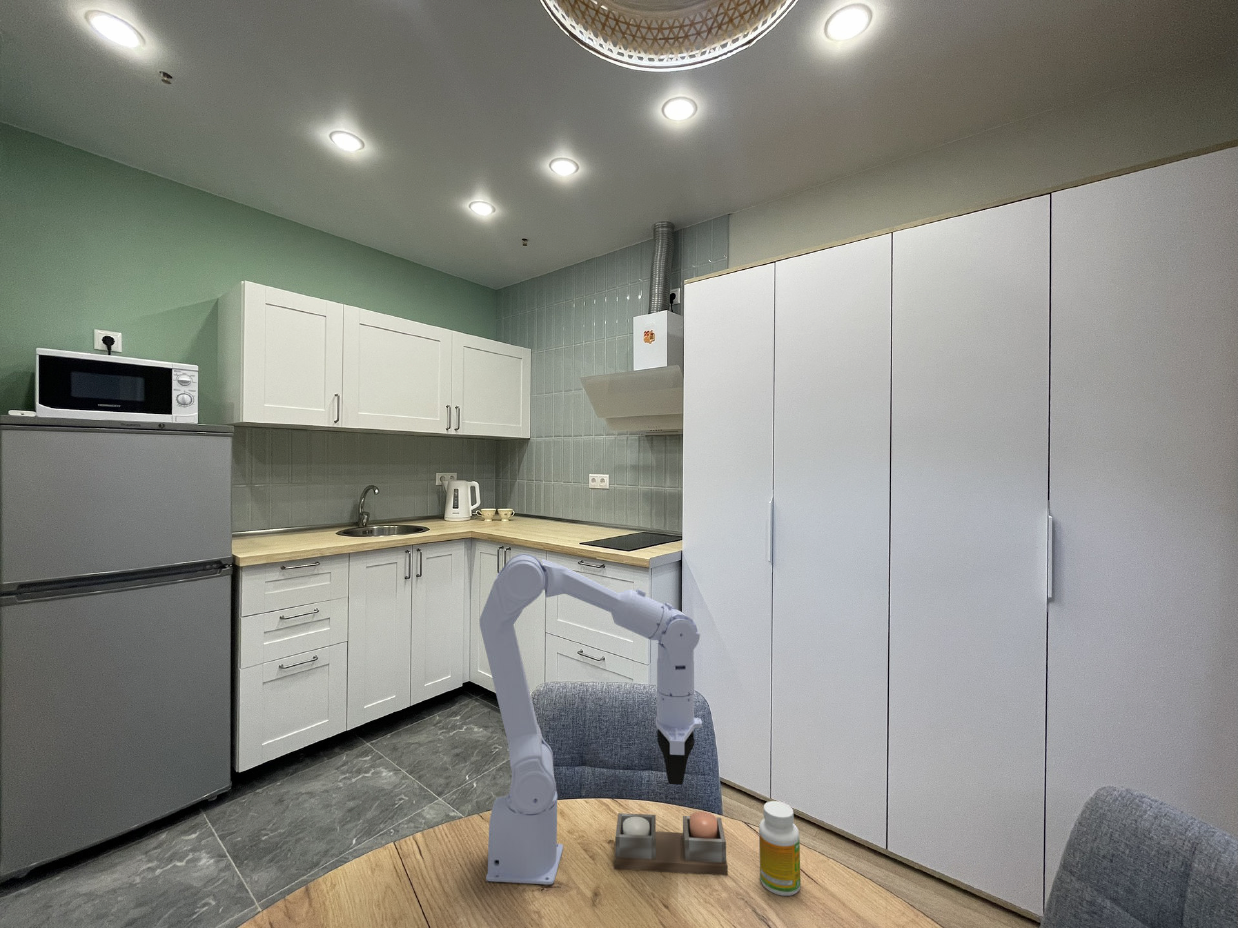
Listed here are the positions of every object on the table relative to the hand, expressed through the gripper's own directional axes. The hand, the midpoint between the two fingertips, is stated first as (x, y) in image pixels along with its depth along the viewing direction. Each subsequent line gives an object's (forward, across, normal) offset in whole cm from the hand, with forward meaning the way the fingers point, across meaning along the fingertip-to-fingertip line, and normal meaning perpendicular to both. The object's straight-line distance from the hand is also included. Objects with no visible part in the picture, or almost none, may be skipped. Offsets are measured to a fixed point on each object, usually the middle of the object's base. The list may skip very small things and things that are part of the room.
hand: (675, 782), depth 79 cm
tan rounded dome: (+7, -2, -4) cm, 8 cm away
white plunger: (+8, -2, +6) cm, 10 cm away
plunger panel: (+10, -2, +1) cm, 10 cm away
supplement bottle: (+10, -6, -14) cm, 18 cm away
